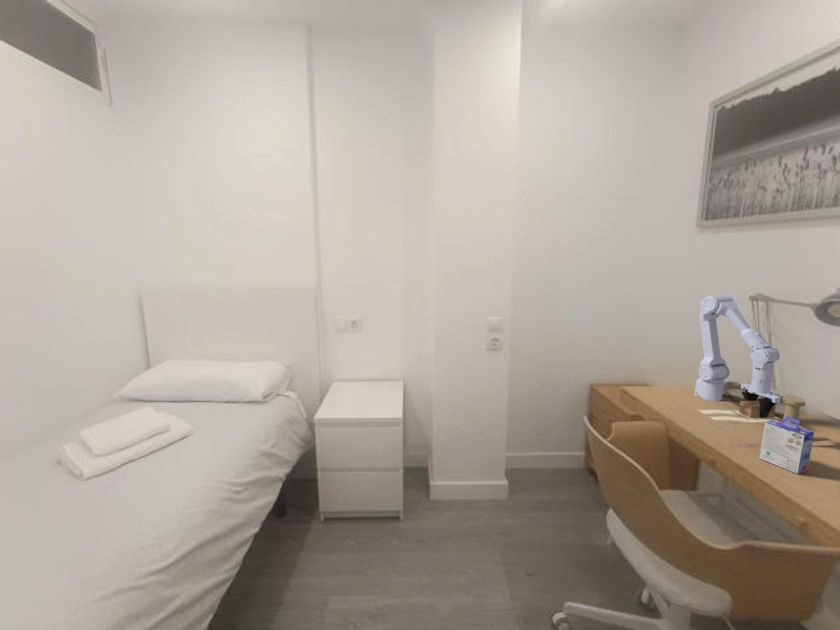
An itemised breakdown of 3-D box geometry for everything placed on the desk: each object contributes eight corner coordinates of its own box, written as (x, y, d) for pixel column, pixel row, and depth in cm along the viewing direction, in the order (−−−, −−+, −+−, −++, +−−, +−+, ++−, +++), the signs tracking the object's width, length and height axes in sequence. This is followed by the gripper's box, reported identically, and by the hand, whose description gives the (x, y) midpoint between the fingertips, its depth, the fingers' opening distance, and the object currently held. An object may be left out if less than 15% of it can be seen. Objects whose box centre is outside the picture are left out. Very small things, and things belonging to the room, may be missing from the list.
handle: (790, 437, 135) (796, 395, 132) (802, 446, 129) (809, 403, 126) (773, 435, 136) (779, 394, 134) (784, 445, 130) (791, 401, 128)
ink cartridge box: (809, 470, 116) (817, 424, 113) (798, 475, 114) (806, 428, 111) (768, 454, 125) (775, 411, 122) (758, 458, 123) (764, 414, 120)
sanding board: (688, 411, 157) (688, 407, 156) (757, 408, 158) (757, 405, 157) (719, 430, 141) (720, 426, 141) (796, 427, 142) (797, 423, 142)
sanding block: (739, 412, 152) (740, 401, 151) (761, 411, 152) (763, 400, 151) (750, 418, 147) (751, 406, 146) (773, 417, 147) (775, 405, 146)
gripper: (735, 373, 154) (730, 406, 156) (768, 386, 139) (763, 422, 142) (752, 372, 154) (748, 405, 156) (788, 385, 140) (782, 421, 142)
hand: (756, 413), depth 149 cm, fingers closed on sanding block, 5 cm apart
